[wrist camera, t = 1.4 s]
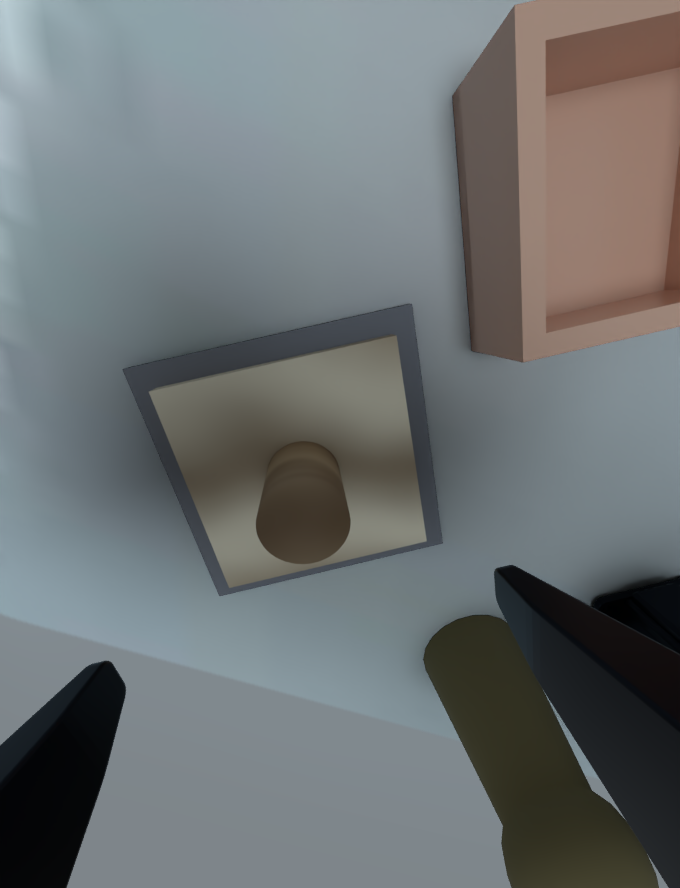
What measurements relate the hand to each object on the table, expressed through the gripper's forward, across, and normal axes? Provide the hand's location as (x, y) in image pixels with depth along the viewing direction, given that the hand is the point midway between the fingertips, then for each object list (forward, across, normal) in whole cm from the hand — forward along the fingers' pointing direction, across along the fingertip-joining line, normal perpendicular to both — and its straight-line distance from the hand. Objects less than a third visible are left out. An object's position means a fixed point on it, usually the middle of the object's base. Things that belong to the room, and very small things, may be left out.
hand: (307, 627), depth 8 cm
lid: (+9, 0, 0) cm, 9 cm away
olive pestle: (+10, -7, +15) cm, 19 cm away
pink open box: (+9, -13, -8) cm, 18 cm away
